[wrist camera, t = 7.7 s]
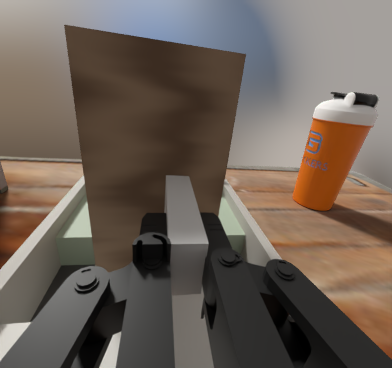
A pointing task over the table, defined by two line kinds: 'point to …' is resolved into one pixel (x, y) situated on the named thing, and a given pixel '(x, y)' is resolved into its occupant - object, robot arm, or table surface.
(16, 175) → the table surface
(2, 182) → the cabinet
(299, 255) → the table surface
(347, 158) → the shaker bottle
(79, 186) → the box
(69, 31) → the walnut block
